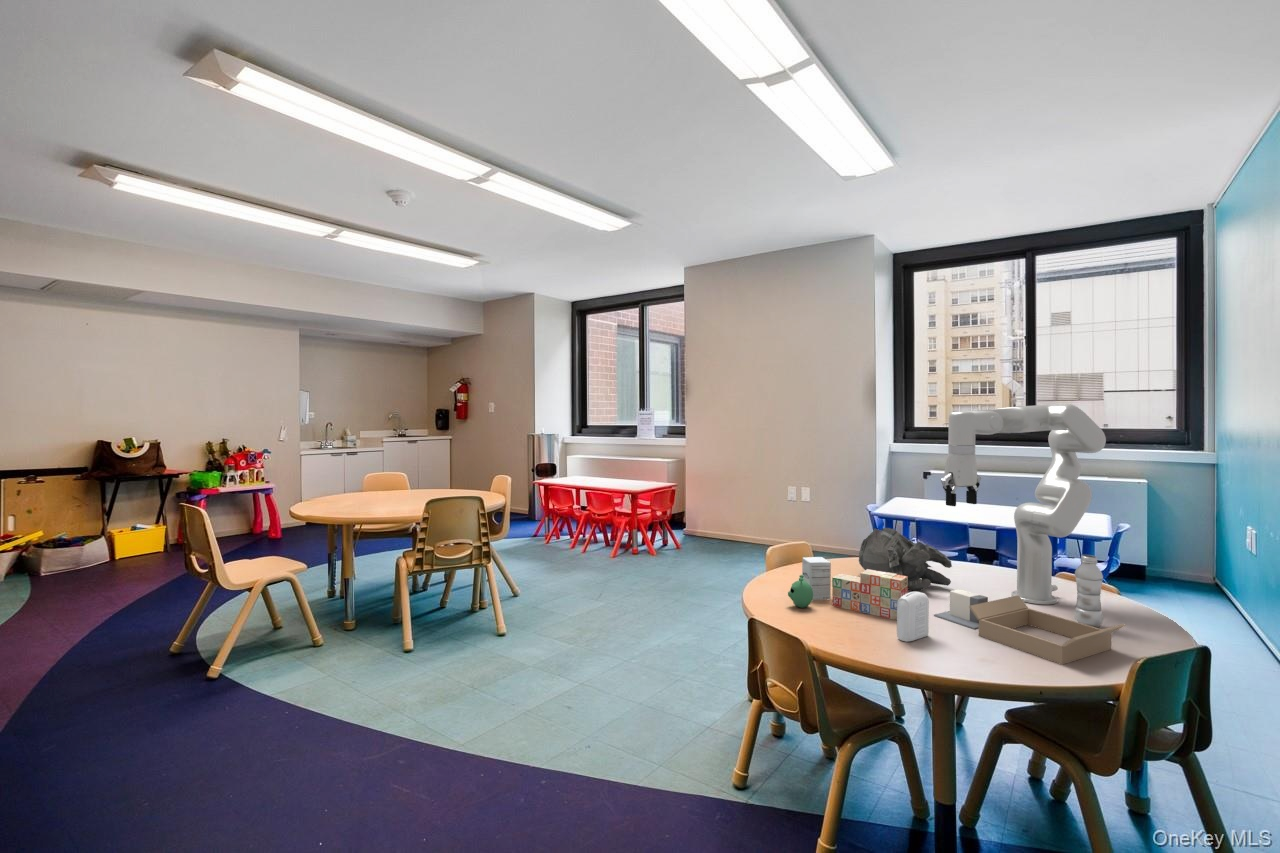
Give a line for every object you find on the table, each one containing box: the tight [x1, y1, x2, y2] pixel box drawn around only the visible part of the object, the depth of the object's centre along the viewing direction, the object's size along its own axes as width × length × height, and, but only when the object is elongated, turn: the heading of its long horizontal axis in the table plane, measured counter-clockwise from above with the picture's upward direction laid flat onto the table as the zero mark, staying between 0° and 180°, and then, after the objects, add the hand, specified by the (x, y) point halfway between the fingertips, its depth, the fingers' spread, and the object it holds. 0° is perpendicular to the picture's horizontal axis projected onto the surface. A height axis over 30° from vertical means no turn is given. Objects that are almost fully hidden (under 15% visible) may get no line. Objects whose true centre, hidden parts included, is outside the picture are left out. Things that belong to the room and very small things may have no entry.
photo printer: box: [896, 591, 930, 643], centre depth 166 cm, size 10×4×12 cm, turn 123°
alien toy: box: [787, 574, 813, 609], centre depth 192 cm, size 7×8×10 cm
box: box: [949, 589, 989, 623], centre depth 181 cm, size 4×9×7 cm, turn 26°
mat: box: [933, 610, 979, 630], centre depth 181 cm, size 13×13×1 cm
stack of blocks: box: [831, 569, 909, 621], centre depth 189 cm, size 21×6×12 cm, turn 48°
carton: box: [969, 595, 1126, 665], centre depth 162 cm, size 22×28×8 cm
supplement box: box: [801, 556, 832, 601], centre depth 203 cm, size 7×7×13 cm
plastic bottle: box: [1074, 554, 1104, 628], centre depth 175 cm, size 6×7×20 cm
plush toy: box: [858, 527, 953, 592], centre depth 220 cm, size 27×26×20 cm
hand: (961, 504), depth 192 cm, fingers open, 9 cm apart
